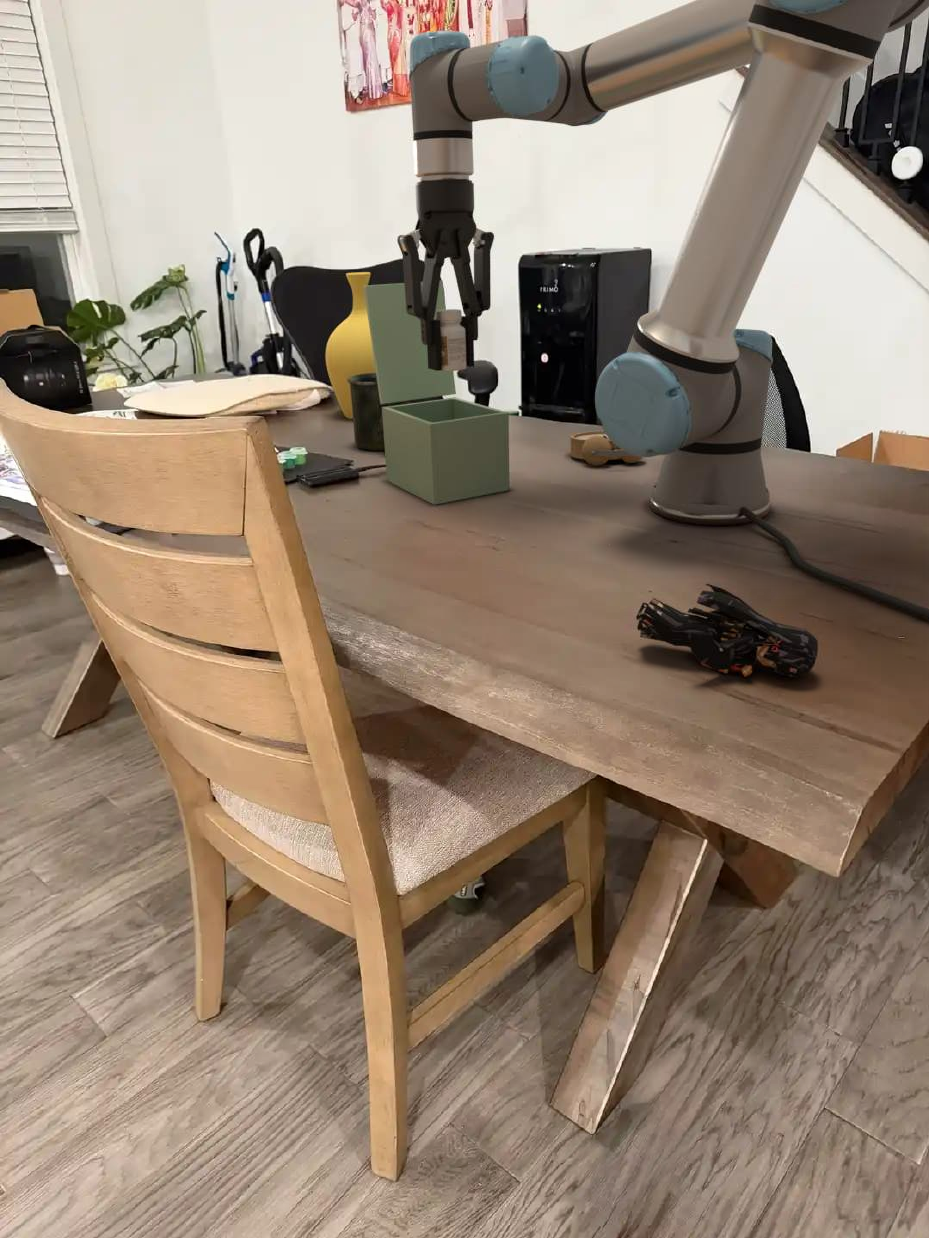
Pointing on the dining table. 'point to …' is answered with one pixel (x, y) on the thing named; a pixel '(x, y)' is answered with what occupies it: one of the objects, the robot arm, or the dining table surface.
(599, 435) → the wooden toy car
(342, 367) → the vase
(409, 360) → the lid
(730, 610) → the figurine
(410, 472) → the chest
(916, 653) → the dining table surface
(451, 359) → the pill bottle
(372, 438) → the mug
